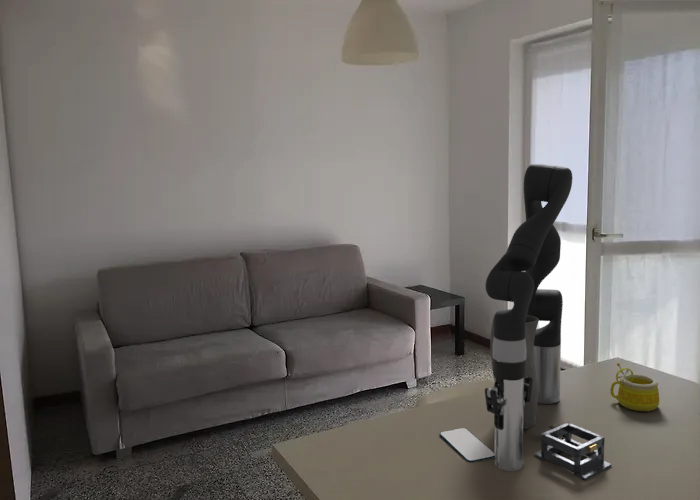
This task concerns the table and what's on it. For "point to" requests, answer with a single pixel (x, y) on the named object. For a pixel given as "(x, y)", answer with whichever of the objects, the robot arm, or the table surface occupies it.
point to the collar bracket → (574, 450)
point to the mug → (636, 391)
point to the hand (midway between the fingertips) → (508, 424)
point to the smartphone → (467, 445)
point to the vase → (530, 331)
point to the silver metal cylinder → (511, 428)
